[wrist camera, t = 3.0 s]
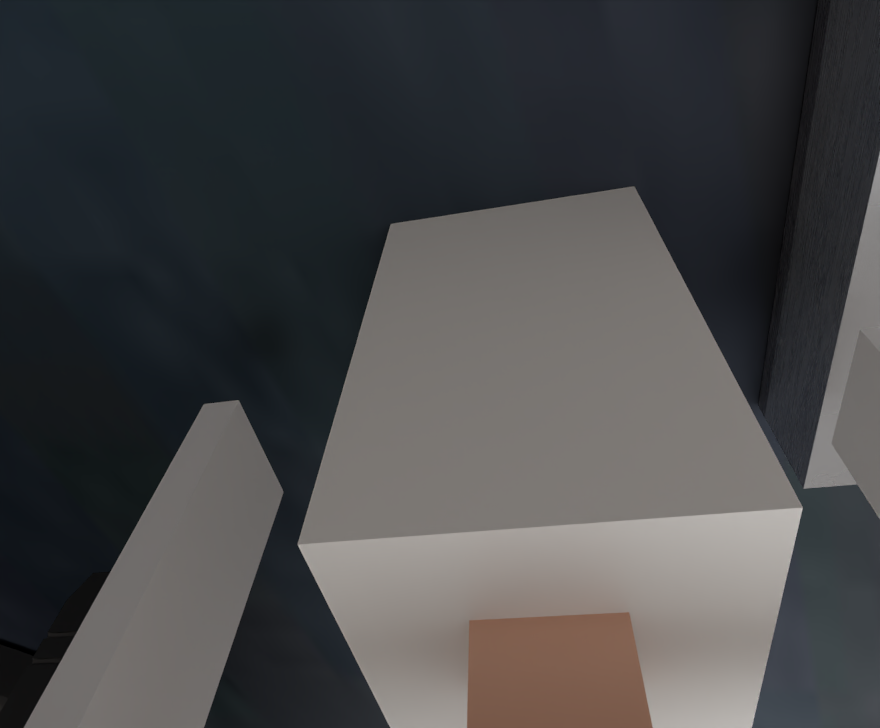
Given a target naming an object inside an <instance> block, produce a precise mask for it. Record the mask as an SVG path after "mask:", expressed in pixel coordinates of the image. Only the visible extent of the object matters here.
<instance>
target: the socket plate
mask: <svg viewBox="0 0 880 728" xmlns="http://www.w3.org/2000/svg"><path fill="white" fill-rule="evenodd" d="M876 327H880V0H818V5H817V11H816V18H815V25H814V32H813V38H812V45H811V52H810V59H809V65H808V72H807V79H806V86H805V92H804V99H803V106H802V113H801V119H800V126H799V133H798V140H797V147H796V153H795V160H794V167H793V174H792V180H791V187H790V194H789V201H788V207H787V214H786V221H785V228H784V234H783V241H782V248H781V255H780V261H779V268H778V275H777V282H776V289H775V295H774V302H773V309H772V316H771V322H770V329H769V336H768V343H767V349H766V356H765V363H764V370H763V376H762V383H761V390H760V397H759V403H758V406H759V408H760V409H761V411H762V413H763V415H764V417H765V419H766V421H767V422H768V424H769V426H770V428H771V430H772V432H773V433H774V435H775V437H776V439H777V441H778V443H779V444H780V446H781V448H782V450H783V452H784V454H785V455H786V457H787V459H788V461H789V463H790V465H791V466H792V468H793V470H794V472H795V474H796V476H797V478H798V479H799V481H800V483H801V485H802V487H803V489H804V488H817V487H829V486H842V485H855V484H857V483H856V481H855V480H854V478H853V477H852V475H851V473H850V472H849V470H848V469H847V467H846V466H845V464H844V463H843V461H842V459H841V458H840V456H839V455H838V453H837V452H836V450H835V448H834V447H833V445H832V444H831V443H832V439H833V435H834V431H835V427H836V423H837V419H838V415H839V411H840V407H841V403H842V399H843V395H844V391H845V387H846V383H847V379H848V375H849V371H850V367H851V363H852V359H853V355H854V351H855V347H856V343H857V339H858V335H859V331H860V329H867V328H876Z"/></svg>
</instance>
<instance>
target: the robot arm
mask: <svg viewBox="0 0 880 728" xmlns="http://www.w3.org/2000/svg"><path fill="white" fill-rule="evenodd" d="M831 444H832V445H833V447H834V448H835V450H836V452H837V453H838V455H839V456H840V458H841V459H842V461H843V463H844V464H845V466H846V467H847V469H848V470H849V472H850V473H851V475H852V477H853V478H854V480H855V481H856V483H857V484H858V486H859V488H860V489H861V491H862V492H863V494H864V495H865V497H866V498H867V500H868V502H869V503H870V505H871V506H872V508H873V509H874V511H875V513H876V514H877V516H878V517H879V519H880V327H876V328H867V329H860V331H859V335H858V339H857V343H856V347H855V351H854V355H853V359H852V363H851V367H850V371H849V375H848V379H847V383H846V387H845V391H844V395H843V399H842V403H841V407H840V411H839V415H838V419H837V423H836V427H835V431H834V435H833V439H832V443H831ZM282 495H283V490H282V488H281V485H280V483H279V481H278V479H277V477H276V475H275V473H274V471H273V469H272V467H271V465H270V463H269V461H268V459H267V457H266V455H265V453H264V451H263V449H262V447H261V445H260V443H259V441H258V438H257V436H256V434H255V432H254V430H253V428H252V426H251V424H250V422H249V420H248V418H247V416H246V414H245V412H244V410H243V408H242V406H241V404H240V402H239V400H235V401H226V402H218V403H209V404H204V405H203V406H202V408H201V410H200V412H199V414H198V415H197V417H196V419H195V421H194V423H193V424H192V426H191V428H190V430H189V432H188V433H187V435H186V437H185V439H184V441H183V442H182V444H181V446H180V448H179V450H178V451H177V453H176V455H175V457H174V459H173V460H172V462H171V464H170V466H169V468H168V469H167V471H166V473H165V475H164V477H163V478H162V480H161V482H160V484H159V486H158V487H157V489H156V491H155V493H154V495H153V496H152V498H151V500H150V502H149V504H148V505H147V507H146V509H145V511H144V513H143V514H142V516H141V518H140V520H139V522H138V523H137V525H136V527H135V529H134V531H133V532H132V534H131V536H130V538H129V540H128V541H127V543H126V545H125V547H124V548H123V550H122V552H121V554H120V556H119V557H118V559H117V561H116V563H115V565H114V566H113V568H112V570H111V572H101V573H93V574H92V575H91V576H90V577H89V578H88V579H87V580H86V581H85V582H84V583H83V584H82V585H81V586H80V587H79V588H78V589H77V590H76V591H75V593H74V594H73V595H72V596H71V597H70V598H69V599H68V600H67V601H66V602H65V604H64V606H63V607H62V609H61V611H60V612H59V614H58V616H57V617H56V619H55V621H54V623H53V624H52V626H51V628H50V629H49V631H48V637H47V638H46V639H43V641H42V643H41V644H40V646H39V648H38V649H37V651H36V653H35V654H34V656H32V655H29V654H26V653H24V652H21V651H18V650H15V649H12V648H9V647H6V646H3V645H0V728H204V726H205V723H206V720H207V717H208V714H209V711H210V708H211V705H212V702H213V699H214V696H215V693H216V690H217V687H218V684H219V681H220V678H221V676H222V673H223V670H224V667H225V664H226V661H227V658H228V655H229V652H230V649H231V646H232V643H233V640H234V637H235V634H236V631H237V628H238V625H239V622H240V619H241V616H242V614H243V611H244V608H245V605H246V602H247V599H248V596H249V593H250V590H251V587H252V584H253V581H254V578H255V575H256V572H257V569H258V566H259V563H260V560H261V557H262V554H263V552H264V549H265V546H266V543H267V540H268V537H269V534H270V531H271V528H272V525H273V522H274V519H275V516H276V513H277V510H278V507H279V504H280V501H281V498H282Z"/></svg>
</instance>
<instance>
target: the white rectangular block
mask: <svg viewBox="0 0 880 728" xmlns="http://www.w3.org/2000/svg"><path fill="white" fill-rule="evenodd" d="M802 509H803V507H802V505H801V503H800V501H799V500H798V498H797V496H796V494H795V492H794V490H793V488H792V486H791V484H790V482H789V480H788V479H787V477H786V475H785V473H784V471H783V469H782V467H781V465H780V463H779V461H778V459H777V458H776V456H775V454H774V452H773V450H772V448H771V446H770V444H769V442H768V440H767V438H766V437H765V435H764V433H763V431H762V429H761V427H760V425H759V423H758V421H757V419H756V417H755V416H754V414H753V412H752V410H751V408H750V406H749V404H748V402H747V400H746V398H745V396H744V395H743V393H742V391H741V389H740V387H739V385H738V383H737V381H736V379H735V377H734V375H733V374H732V372H731V370H730V368H729V366H728V364H727V362H726V360H725V358H724V356H723V354H722V353H721V351H720V349H719V347H718V345H717V343H716V341H715V339H714V337H713V335H712V334H711V332H710V330H709V328H708V326H707V324H706V322H705V320H704V318H703V316H702V314H701V313H700V311H699V309H698V307H697V305H696V303H695V301H694V299H693V297H692V295H691V293H690V292H689V290H688V288H687V286H686V284H685V282H684V280H683V278H682V276H681V274H680V272H679V271H678V269H677V267H676V265H675V263H674V261H673V259H672V257H671V255H670V253H669V251H668V250H667V248H666V246H665V244H664V242H663V240H662V238H661V236H660V234H659V232H658V230H657V229H656V227H655V225H654V223H653V221H652V219H651V217H650V215H649V213H648V211H647V209H646V208H645V206H644V204H643V202H642V200H641V198H640V196H639V194H638V192H637V190H636V188H635V187H634V186H633V187H626V188H620V189H613V190H607V191H601V192H594V193H588V194H581V195H575V196H568V197H562V198H555V199H549V200H542V201H536V202H529V203H523V204H517V205H510V206H504V207H497V208H491V209H484V210H478V211H471V212H465V213H458V214H452V215H446V216H439V217H433V218H426V219H420V220H413V221H407V222H400V223H394V224H391V225H390V228H389V232H388V235H387V239H386V242H385V246H384V249H383V252H382V256H381V259H380V263H379V266H378V270H377V273H376V276H375V280H374V283H373V287H372V290H371V294H370V297H369V300H368V304H367V307H366V311H365V314H364V318H363V321H362V325H361V328H360V331H359V335H358V338H357V342H356V345H355V349H354V352H353V355H352V359H351V362H350V366H349V369H348V373H347V376H346V380H345V383H344V386H343V390H342V393H341V397H340V400H339V404H338V407H337V410H336V414H335V417H334V421H333V424H332V428H331V431H330V434H329V438H328V441H327V445H326V448H325V452H324V455H323V459H322V462H321V465H320V469H319V472H318V476H317V479H316V483H315V486H314V489H313V493H312V496H311V500H310V503H309V507H308V510H307V513H306V517H305V520H304V524H303V527H302V531H301V534H300V538H299V541H298V544H297V545H298V547H299V549H300V551H301V553H302V554H303V556H304V558H305V560H306V562H307V564H308V566H309V568H310V570H311V572H312V574H313V576H314V578H315V580H316V582H317V584H318V586H319V588H320V590H321V592H322V594H323V596H324V598H325V600H326V602H327V604H328V606H329V608H330V610H331V612H332V614H333V616H334V618H335V620H336V622H337V624H338V626H339V627H340V629H341V631H342V633H343V635H344V637H345V639H346V641H347V643H348V645H349V647H350V649H351V651H352V653H353V655H354V657H355V659H356V661H357V663H358V665H359V667H360V669H361V671H362V673H363V675H364V677H365V679H366V681H367V683H368V685H369V687H370V689H371V691H372V693H373V695H374V697H375V699H376V701H377V702H378V704H379V706H380V708H381V710H382V712H383V714H384V716H385V718H386V720H387V722H388V724H389V726H390V728H752V724H753V720H754V716H755V711H756V707H757V703H758V698H759V694H760V690H761V685H762V681H763V677H764V673H765V668H766V664H767V660H768V655H769V651H770V647H771V642H772V638H773V634H774V629H775V625H776V621H777V616H778V612H779V608H780V604H781V599H782V595H783V591H784V586H785V582H786V578H787V573H788V569H789V565H790V560H791V556H792V552H793V547H794V543H795V539H796V535H797V530H798V526H799V522H800V517H801V513H802Z"/></svg>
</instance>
